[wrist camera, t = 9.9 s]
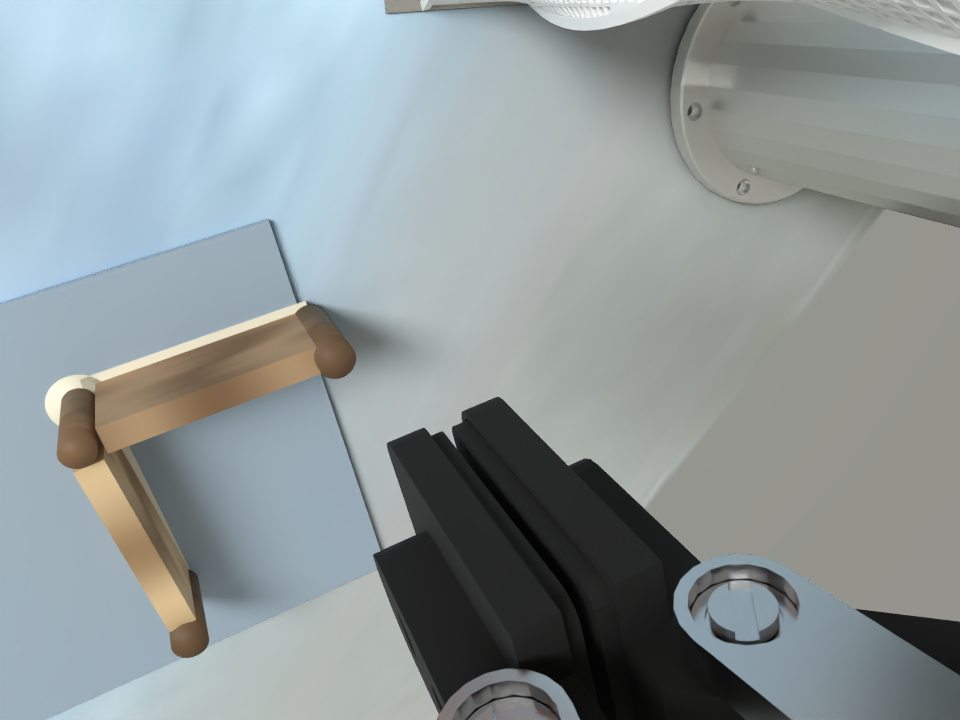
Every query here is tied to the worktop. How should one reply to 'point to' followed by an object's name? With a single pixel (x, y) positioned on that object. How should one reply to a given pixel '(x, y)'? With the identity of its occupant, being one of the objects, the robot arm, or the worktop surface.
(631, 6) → the skyscraper
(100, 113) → the worktop surface
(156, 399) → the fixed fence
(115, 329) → the card
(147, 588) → the fence panel
